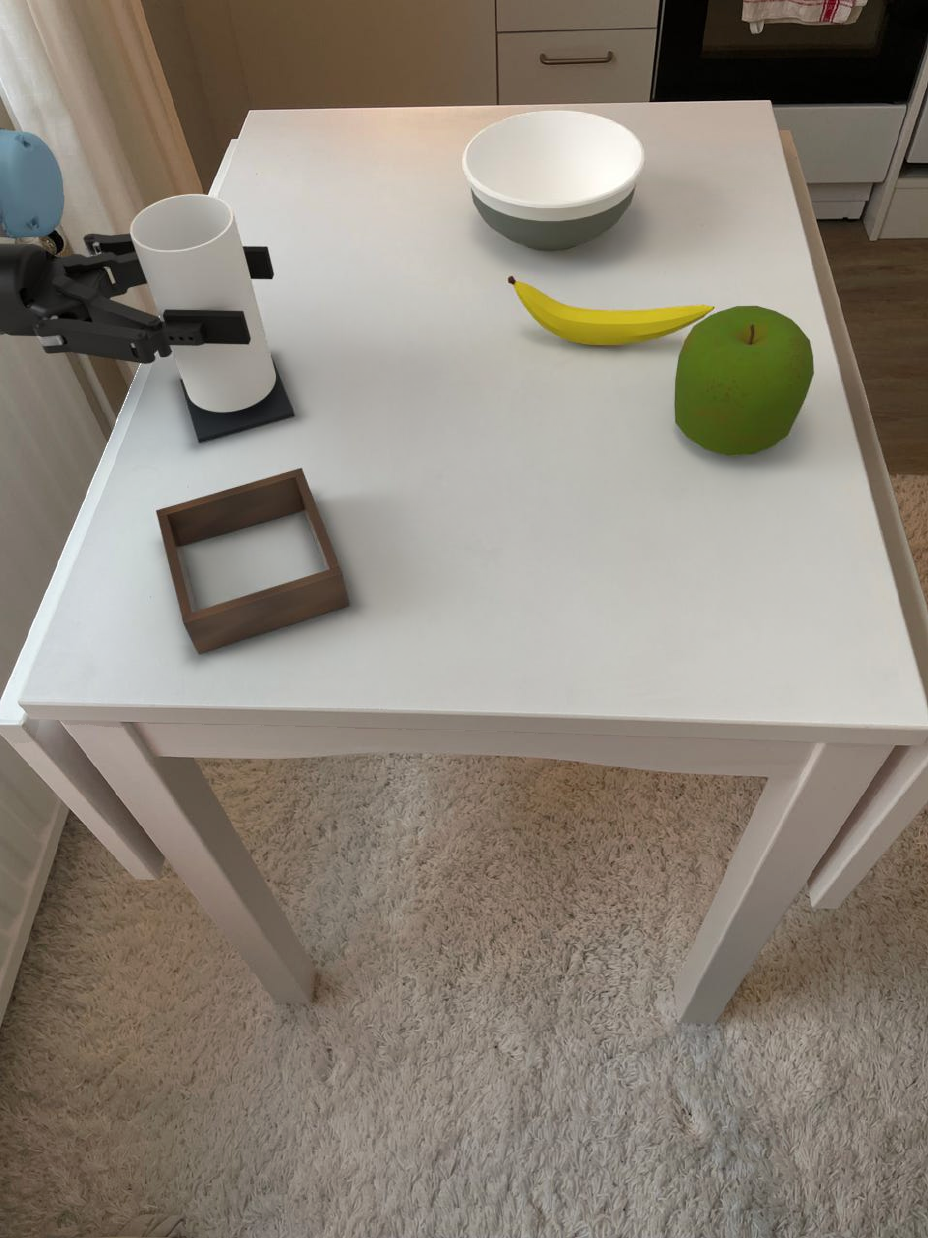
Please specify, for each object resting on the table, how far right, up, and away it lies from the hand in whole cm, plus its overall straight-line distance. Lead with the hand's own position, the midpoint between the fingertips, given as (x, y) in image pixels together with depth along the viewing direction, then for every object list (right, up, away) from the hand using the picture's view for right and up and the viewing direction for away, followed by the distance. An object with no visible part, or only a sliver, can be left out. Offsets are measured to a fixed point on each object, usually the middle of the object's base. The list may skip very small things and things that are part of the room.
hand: (258, 294), depth 80 cm
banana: (+31, -1, +12) cm, 33 cm away
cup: (-4, -5, +8) cm, 11 cm away
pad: (-4, -7, +10) cm, 12 cm away
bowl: (+27, +15, +24) cm, 39 cm away
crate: (+1, -24, -3) cm, 24 cm away
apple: (+41, -10, +4) cm, 42 cm away
